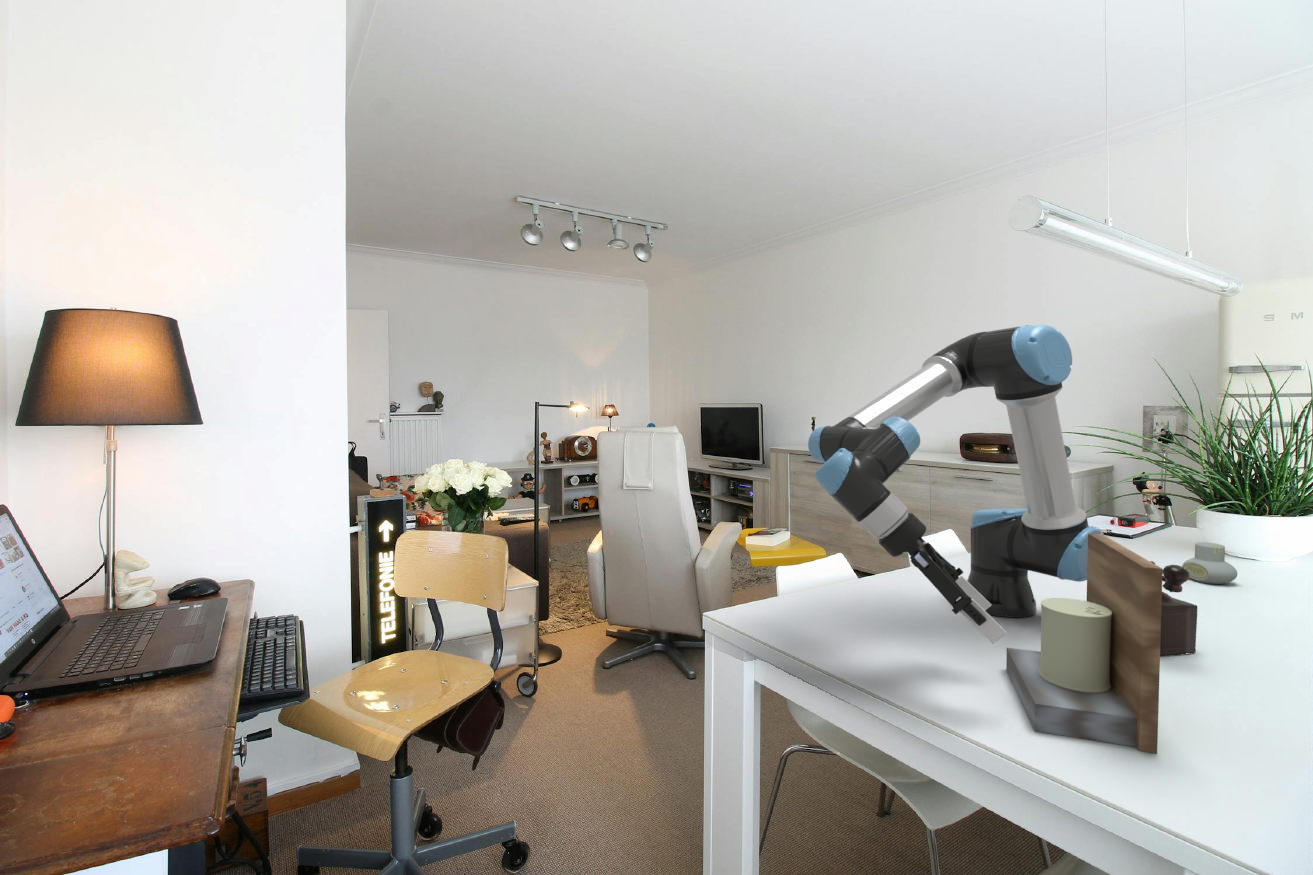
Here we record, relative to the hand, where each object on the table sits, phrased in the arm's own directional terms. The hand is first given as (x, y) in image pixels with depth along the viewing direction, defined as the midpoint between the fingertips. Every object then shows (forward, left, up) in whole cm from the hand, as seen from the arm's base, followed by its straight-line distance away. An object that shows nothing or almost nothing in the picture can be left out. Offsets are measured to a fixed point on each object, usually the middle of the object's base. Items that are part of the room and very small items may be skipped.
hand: (991, 622), depth 99 cm
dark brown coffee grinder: (-44, -10, -12) cm, 47 cm away
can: (-10, +6, -8) cm, 14 cm away
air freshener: (-102, -47, -12) cm, 113 cm away
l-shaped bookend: (-10, +6, -12) cm, 16 cm away
